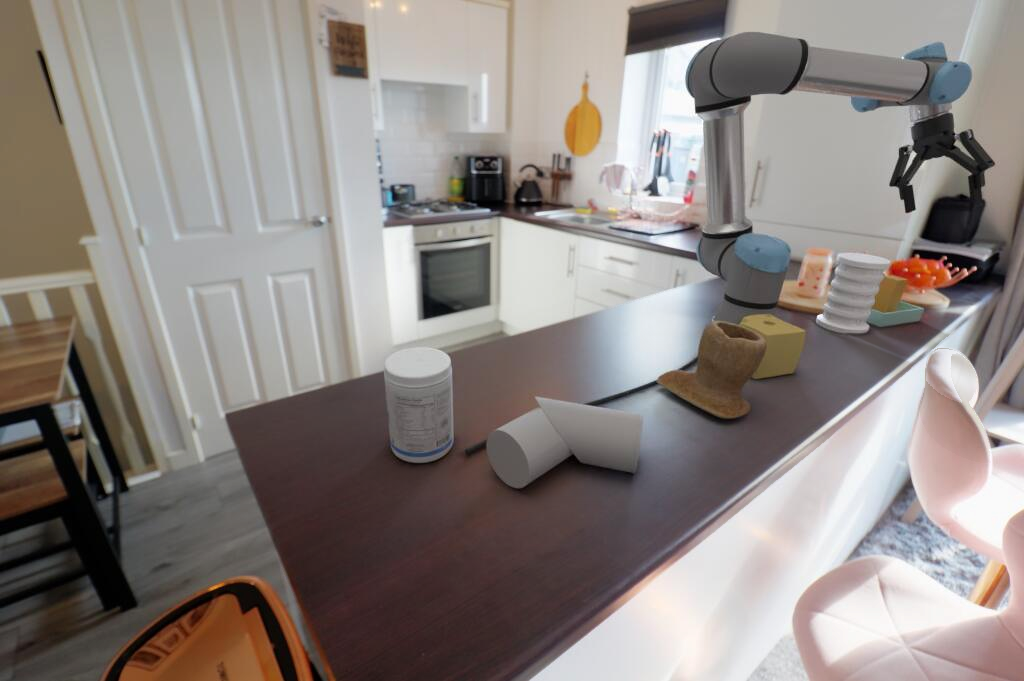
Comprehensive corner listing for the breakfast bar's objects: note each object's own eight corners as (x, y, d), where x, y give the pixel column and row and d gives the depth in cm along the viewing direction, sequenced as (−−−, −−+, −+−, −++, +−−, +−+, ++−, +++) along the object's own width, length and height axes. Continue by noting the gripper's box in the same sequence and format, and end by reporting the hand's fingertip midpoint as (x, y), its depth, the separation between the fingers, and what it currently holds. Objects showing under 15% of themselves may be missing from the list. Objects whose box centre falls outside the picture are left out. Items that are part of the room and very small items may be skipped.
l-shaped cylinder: (564, 405, 82) (476, 454, 70) (580, 356, 77) (487, 400, 64) (649, 472, 73) (566, 543, 60) (675, 422, 67) (588, 489, 54)
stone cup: (764, 411, 85) (786, 334, 79) (721, 430, 79) (742, 348, 73) (694, 375, 97) (709, 305, 91) (653, 389, 91) (665, 316, 85)
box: (879, 328, 123) (884, 314, 122) (842, 314, 132) (847, 301, 130) (918, 322, 128) (924, 308, 127) (880, 309, 137) (885, 296, 135)
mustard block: (883, 320, 128) (897, 280, 123) (868, 314, 131) (882, 276, 127) (893, 318, 129) (908, 279, 124) (878, 313, 132) (892, 275, 128)
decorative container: (877, 336, 118) (903, 265, 111) (827, 332, 120) (849, 262, 112) (854, 319, 129) (877, 253, 121) (808, 316, 130) (828, 250, 123)
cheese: (719, 358, 104) (729, 316, 100) (759, 353, 107) (770, 311, 103) (755, 381, 95) (767, 335, 91) (797, 375, 98) (811, 330, 94)
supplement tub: (395, 428, 77) (388, 346, 71) (454, 426, 78) (452, 345, 72) (386, 468, 68) (377, 377, 62) (453, 465, 69) (451, 376, 63)
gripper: (1010, 93, 100) (1019, 193, 105) (884, 130, 124) (896, 210, 128) (988, 101, 98) (998, 203, 103) (864, 137, 122) (877, 218, 126)
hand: (941, 207), depth 116 cm, fingers open, 13 cm apart
